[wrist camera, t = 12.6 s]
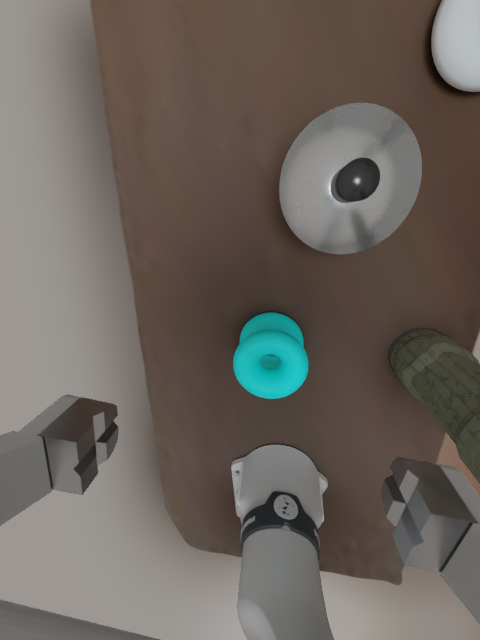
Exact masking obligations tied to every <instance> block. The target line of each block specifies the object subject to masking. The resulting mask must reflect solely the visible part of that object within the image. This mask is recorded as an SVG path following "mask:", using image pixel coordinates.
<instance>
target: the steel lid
mask: <svg viewBox="0 0 480 640" xmlns="http://www.w3.org/2000/svg"><path fill="white" fill-rule="evenodd" d="M421 175H422V159H421V153H420V149H419V145H418V142H417V140H416V138H415V136H414V133H413V132H412V130H411V129H410V127H409V126H408V124H407V123H406V122H405V121H404V120H403V119H402V118H401V117H400V116H398V115H397V114H395V113H394V112H393V111H391V110H389V109H387V108H385V107H382V106H379V105H376V104H370V103H352V104H346V105H342V106H339V107H336V108H333V109H331V110H329V111H327V112H325V113H323V114H322V115H320V116H319V117H317V118H316V119H315V120H313V121H312V122H311V123H310V124H308V125H307V126H306V128H305V129H304V130H303V131H302V132H301V133H300V134H299V135H298V137H297V138H296V139H295V141H294V142H293V144H292V146H291V147H290V149H289V151H288V153H287V156H286V158H285V160H284V164H283V167H282V170H281V176H280V183H279V199H280V205H281V209H282V212H283V216H284V218H285V220H286V222H287V224H288V226H289V227H290V229H291V230H292V231H293V233H294V234H295V235H296V236H297V237H298V238H299V239H300V240H301V241H303V242H304V243H305V244H307V245H308V246H310V247H312V248H314V249H316V250H318V251H322V252H325V253H330V254H351V253H356V252H360V251H363V250H366V249H368V248H370V247H373V246H375V245H376V244H378V243H380V242H381V241H383V240H384V239H386V238H387V237H388V236H389V235H391V234H392V233H393V232H394V231H395V230H396V229H397V228H398V227H399V226H400V224H401V223H402V222H403V221H404V219H405V218H406V216H407V215H408V213H409V212H410V210H411V208H412V206H413V204H414V202H415V200H416V197H417V194H418V191H419V187H420V183H421Z"/></svg>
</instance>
